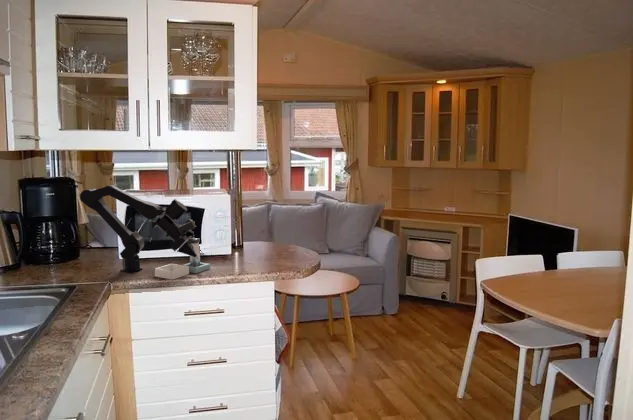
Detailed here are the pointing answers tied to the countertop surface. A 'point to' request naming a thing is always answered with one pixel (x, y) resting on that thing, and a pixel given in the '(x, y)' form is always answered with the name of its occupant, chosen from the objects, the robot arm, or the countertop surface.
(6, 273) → the countertop surface
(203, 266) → the collar
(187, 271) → the tray
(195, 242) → the salt shaker
